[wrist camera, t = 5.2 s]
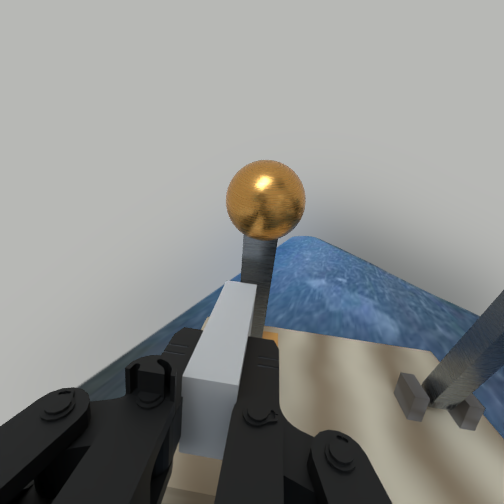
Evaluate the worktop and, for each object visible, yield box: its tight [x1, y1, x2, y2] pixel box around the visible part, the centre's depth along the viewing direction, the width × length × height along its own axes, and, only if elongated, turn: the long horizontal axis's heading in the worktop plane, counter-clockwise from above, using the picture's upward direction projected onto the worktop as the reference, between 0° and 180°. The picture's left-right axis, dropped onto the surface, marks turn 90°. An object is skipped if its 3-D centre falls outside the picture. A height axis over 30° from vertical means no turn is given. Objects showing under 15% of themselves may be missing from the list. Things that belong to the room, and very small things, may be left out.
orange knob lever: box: [226, 160, 305, 338], centre depth 16 cm, size 4×4×16 cm
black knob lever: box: [421, 290, 504, 411], centre depth 16 cm, size 4×4×16 cm
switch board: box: [161, 317, 504, 504], centre depth 21 cm, size 23×16×4 cm
